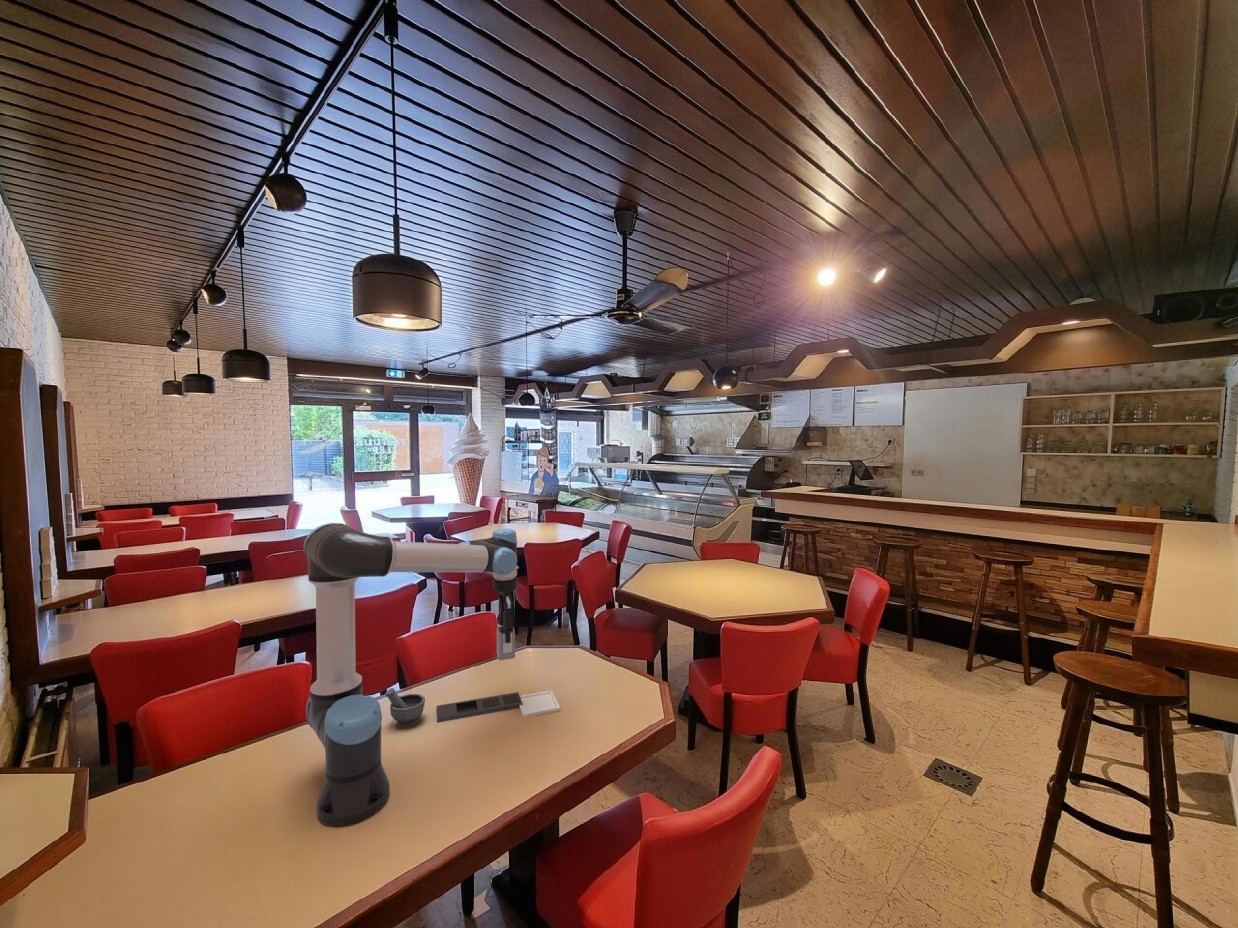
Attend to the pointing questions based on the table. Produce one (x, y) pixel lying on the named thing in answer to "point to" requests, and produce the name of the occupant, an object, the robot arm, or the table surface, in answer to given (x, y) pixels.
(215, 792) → the table surface
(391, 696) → the mortar and pestle
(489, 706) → the rack rail
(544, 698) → the parts tray
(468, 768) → the table surface
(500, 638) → the gray rectangular block
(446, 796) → the table surface
